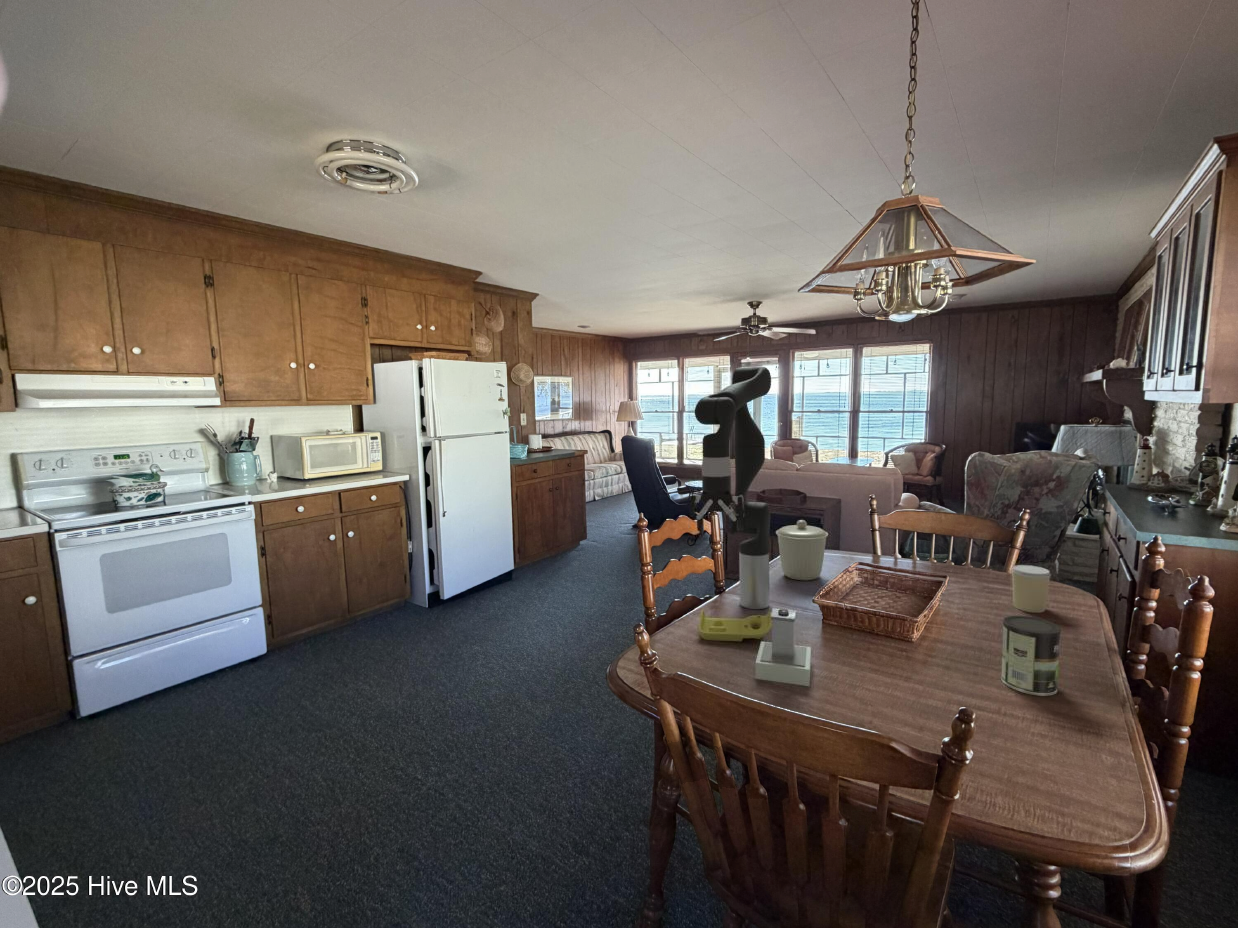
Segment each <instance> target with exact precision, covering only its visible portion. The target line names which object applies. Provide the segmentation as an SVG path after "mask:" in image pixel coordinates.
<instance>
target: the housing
mask: <svg viewBox="0 0 1238 928" xmlns="http://www.w3.org/2000/svg"><path fill="white" fill-rule="evenodd" d="M771 612H772V614H771V620H772V626H771V643H772V657H779V658H787V659H794V654H795V645H796V617H797V616H796V615H797V610H795V609H793V610H792V609H785V608H783V609H782V608H775V607H774V608H772V611H771Z"/></svg>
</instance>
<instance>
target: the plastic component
mask: <svg viewBox="0 0 1238 928" xmlns="http://www.w3.org/2000/svg"><path fill="white" fill-rule="evenodd" d="M771 614H772V611H768V613H767V614H765V615H761V614H758V615H757V614H756V615H750V616H746V617H745V618H725V617H724V618H722V617H721V618H719V617H707V616H706V615H707V614H706V612H705V610H703V609H702V610H701V611H700V615H699V621H698V631H699V635H700V637H701V638H702V639H703V640H707V641H718V642H719V641H721V642H722V641H723V642H742V641H743V640H744V639H754V640H756V639H758V640H761V638H763V637H764V636H765V635H766V634H767V633H768V632H770V630H771V629H772V620H771Z"/></svg>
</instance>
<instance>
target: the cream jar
mask: <svg viewBox="0 0 1238 928" xmlns="http://www.w3.org/2000/svg"><path fill="white" fill-rule="evenodd" d="M1011 572H1012V600H1013V603H1012V604H1013V607H1014V608H1016V609H1017V610H1020V611H1022V612H1023V611H1024V612H1028V613H1043V612H1045V611H1046V608H1047V602H1048V593H1049V585H1050V579H1051V576H1052V575H1051V573H1050V570H1049V569H1046V568H1044V567H1040V566H1035V565H1027V564H1017V565H1014V566H1013V567H1012V568H1011Z"/></svg>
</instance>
